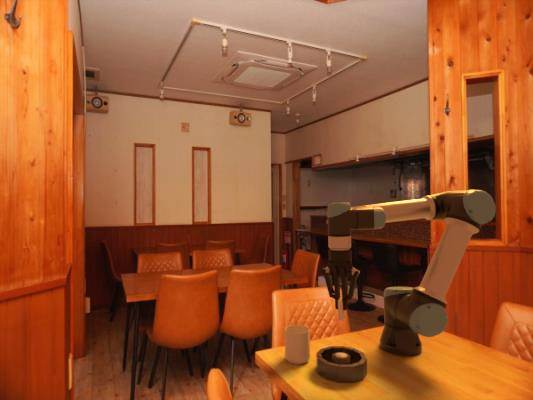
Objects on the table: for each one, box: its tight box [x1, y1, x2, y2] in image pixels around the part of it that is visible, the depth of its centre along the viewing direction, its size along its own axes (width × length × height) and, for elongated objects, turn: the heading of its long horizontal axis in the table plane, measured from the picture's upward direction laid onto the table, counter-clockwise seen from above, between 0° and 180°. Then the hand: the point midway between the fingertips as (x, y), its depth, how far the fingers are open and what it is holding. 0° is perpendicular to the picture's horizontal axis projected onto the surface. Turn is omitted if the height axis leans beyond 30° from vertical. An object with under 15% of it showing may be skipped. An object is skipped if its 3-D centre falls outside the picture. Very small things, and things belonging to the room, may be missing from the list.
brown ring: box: [315, 345, 368, 384], centre depth 121 cm, size 16×16×5 cm
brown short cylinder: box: [332, 352, 350, 365], centre depth 121 cm, size 6×6×5 cm
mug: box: [284, 324, 311, 365], centre depth 132 cm, size 12×9×11 cm
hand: (341, 319), depth 121 cm, fingers closed
